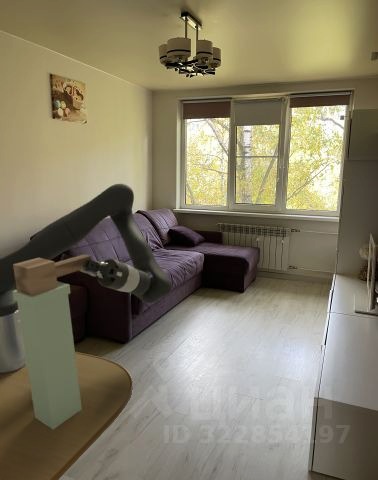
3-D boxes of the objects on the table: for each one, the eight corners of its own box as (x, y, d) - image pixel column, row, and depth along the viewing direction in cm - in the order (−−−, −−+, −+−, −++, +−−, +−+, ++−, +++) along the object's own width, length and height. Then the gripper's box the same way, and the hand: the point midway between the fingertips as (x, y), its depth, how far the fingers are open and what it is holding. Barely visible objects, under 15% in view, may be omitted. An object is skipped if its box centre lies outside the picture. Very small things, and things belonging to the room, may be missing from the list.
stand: (32, 418, 87) (12, 291, 80) (64, 397, 94) (49, 279, 87) (51, 431, 83) (32, 298, 75) (84, 408, 90) (69, 284, 82)
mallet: (17, 290, 80) (13, 264, 78) (81, 269, 93) (79, 246, 91) (32, 296, 76) (28, 268, 75) (97, 273, 89) (95, 249, 88)
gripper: (105, 259, 105) (59, 242, 92) (142, 266, 97) (98, 248, 84) (97, 285, 103) (49, 271, 90) (134, 294, 95) (87, 280, 82)
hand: (73, 260), depth 87 cm, fingers open, 8 cm apart
